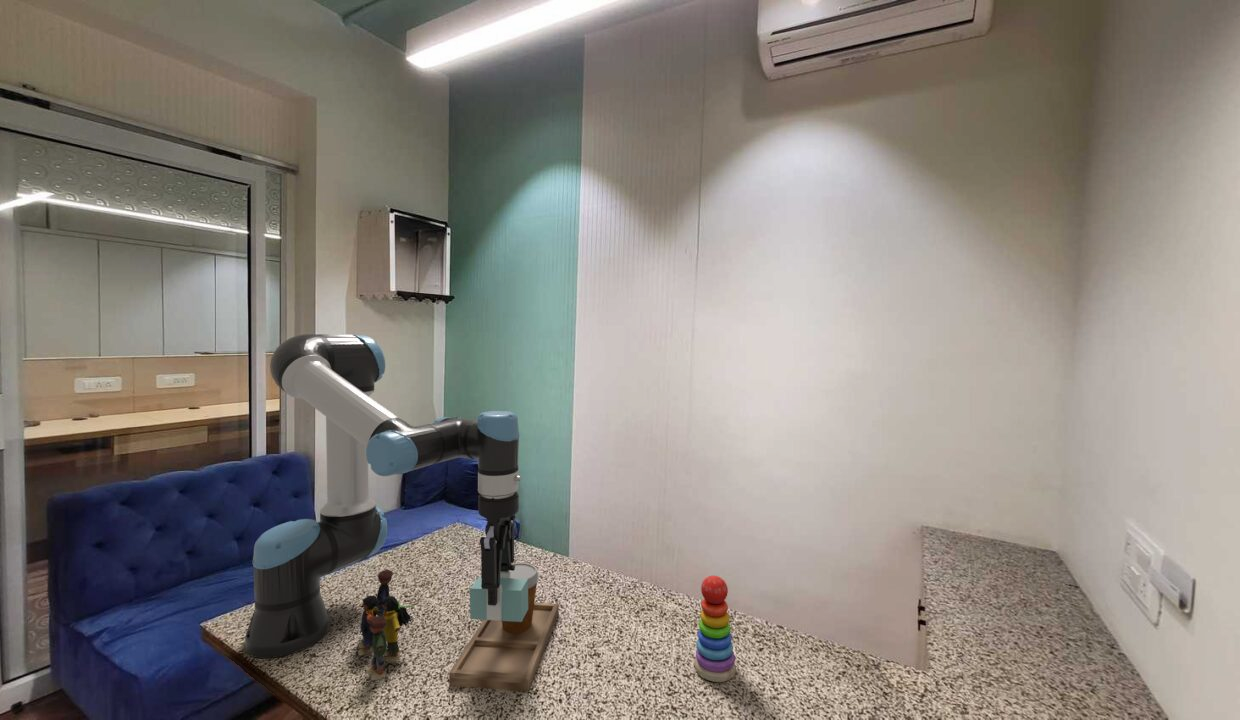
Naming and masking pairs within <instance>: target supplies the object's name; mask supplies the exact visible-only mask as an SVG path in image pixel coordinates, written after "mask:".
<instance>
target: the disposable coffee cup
mask: <svg viewBox="0 0 1240 720" xmlns="http://www.w3.org/2000/svg"><path fill="white" fill-rule="evenodd" d="M511 565H515V570H514V571H511V570H509V572H511V578H513V579H528V611H527V612H526V614H525V616H524V618H523V620H522V622H515V621H502V627H503V629H504V630H505V631H506V632H509V633H521V632H524V631H526V630H528V629H529V628H530V627H531V625H532V617H533V609H534V602H535V600H536V591H537V584H538V582H539V581H538V580H539V579H540V573H539V572H538V568H537V567H536V566H535V565H533V564H531V563H528V562H514V563H511Z"/></svg>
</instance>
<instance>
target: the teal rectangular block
mask: <svg viewBox="0 0 1240 720" xmlns="http://www.w3.org/2000/svg"><path fill="white" fill-rule="evenodd" d="M481 584H482V580H481V576H479V577H477V578H476V580H475V581H474V583H473V584H472V585H471V586H470V588H469V613H470V614H469V616H470V620H476V621H477V620H478V621H479V620H481V621H483V620H487V589H482V587H481ZM500 585H502V619H501V621H515V622H522V620H523V618H524V616H525V614H526V612H527V611H528V579H513V578H500ZM495 621H498V620H495Z"/></svg>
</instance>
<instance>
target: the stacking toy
mask: <svg viewBox="0 0 1240 720" xmlns="http://www.w3.org/2000/svg"><path fill="white" fill-rule="evenodd" d="M700 586H701V587H700V589H701V590H700V591H701V594H702V597H703V600H702V601H701V603H700V604H701V605H700V606H701V612H700V620H699V622H698V627H699V629H698V632H697V637H698V638H697V640H696V651H695V658H694V664H693V665H694V669H695V672H697V674H698V675H699V676H700V677H701V678H703V679H705V680H707V681H710V682H714V683H723V682H727V681H729V680H731V679H732V678H733V677H734V676H735V674H736V672H737V671H736V670H737V668H736V667H737V665H736V663H735V661H736V657H735V653H734V651H733V650H734V645H733V643H732V640H733V639H732V633H731V625H730V614H729V613H728V608H729V607H728V603H727V602H726V599H727V596H728V594H729V591H728V590H729V588H728V585H727V582H726V581H725V580H724V579H723V578H722V577H720V576H719V575H709V576H707V577H705V578H704V579H703V580H702V582H701V585H700Z"/></svg>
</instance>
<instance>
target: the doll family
mask: <svg viewBox="0 0 1240 720" xmlns="http://www.w3.org/2000/svg"><path fill="white" fill-rule="evenodd" d="M393 575H394V574H393V571H392V570H390V569H383V570H381V571H379V572H378V574H377V579H378V582H379V584H380V585H379V587H378V590H377V595H374V594H373V595H368V596H366V597H364V598H363V599H362V600H361V601H362V603H360V602H357V604H358V605H360V607H361V608H363V611H362V615H361V623H360V630H361V634H362V640H361V641H360V642H359V643H358V646H357V647H358V648H359V650H358V652H357V654H358V656H365V655H367V654H369V653H371V652H373V656H372V659H371V663H370V664H371V665H370V666H368V667H367V669H366V672H365V673H366V674H367V675H370V680H372V681H376V680H380V679H384V678H385V677H386V676H387V675H388V674H387V672H386V671H384V666H385V664H386V663H392V662H395V661H397V660H399V659H400V658H401V654H400V653H399V651H400V647H399V643H398V640H399V639H398V634H399V632H400V630H401V627H402V626H406V627H407V626H408V625H409V622H412V620H414V619H415V618H414V617H413V616H411V614H410V613H408V611H407V608H411V607H412V604H409V605H403V606H401V605H400V601H399V600H397V598H396V597H395V596H393V595H391V596H390V586H389V584H390V582H391V580H392V578H393ZM384 656H385V661H384ZM385 662H386V663H385Z"/></svg>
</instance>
